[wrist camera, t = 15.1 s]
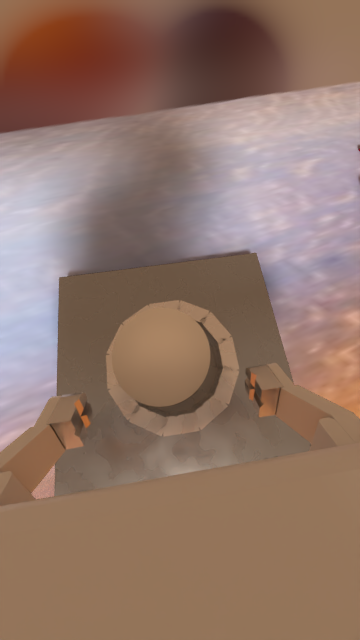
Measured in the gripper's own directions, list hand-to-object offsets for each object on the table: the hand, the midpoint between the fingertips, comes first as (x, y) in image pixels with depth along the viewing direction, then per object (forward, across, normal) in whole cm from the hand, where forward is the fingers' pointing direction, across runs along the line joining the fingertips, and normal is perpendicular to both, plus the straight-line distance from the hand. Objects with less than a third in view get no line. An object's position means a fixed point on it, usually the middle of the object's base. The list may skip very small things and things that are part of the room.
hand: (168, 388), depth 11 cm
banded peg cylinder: (+6, 0, +4) cm, 8 cm away
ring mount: (+8, 0, +5) cm, 9 cm away
